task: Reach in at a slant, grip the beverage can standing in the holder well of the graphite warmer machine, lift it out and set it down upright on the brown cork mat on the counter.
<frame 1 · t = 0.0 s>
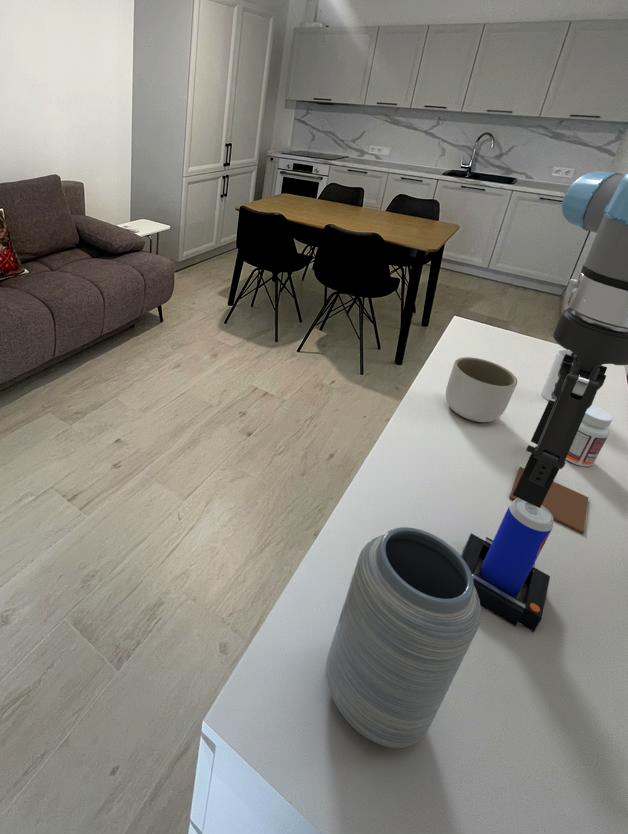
hand: (535, 470, 62), 24 cm above the counter, tool pointing down, fingers open, 13 cm apart
pill bottle: (574, 457, 103), on the counter
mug: (554, 396, 125), on the counter
cork mat: (548, 498, 91), on the counter
vase: (371, 699, 58), on the counter
planter: (469, 412, 115), on the counter
warmer machine: (496, 585, 73), on the counter
beverage can: (496, 586, 74), resting in warmer machine
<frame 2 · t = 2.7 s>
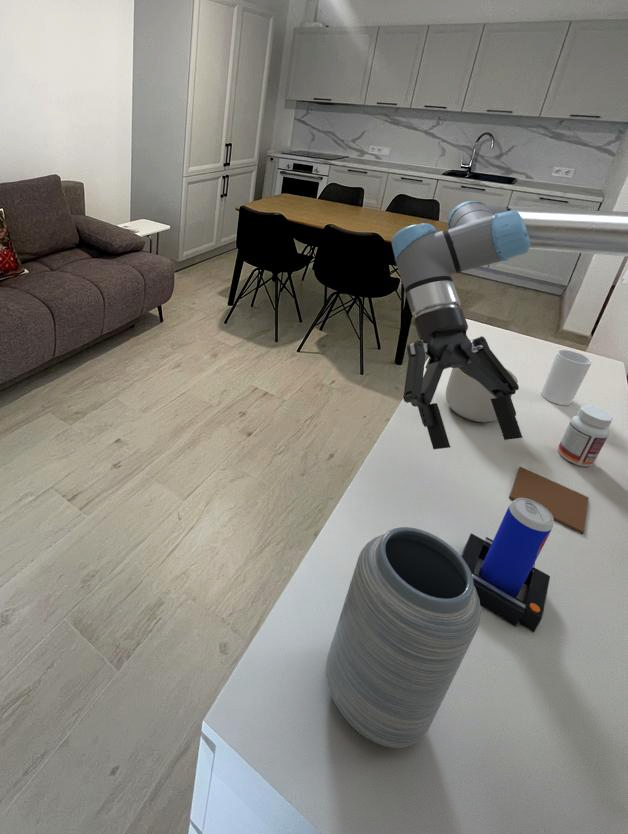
hand: (478, 443, 76), 18 cm above the counter, tool tilted 45°, fingers open, 13 cm apart
nothing on the counter moved.
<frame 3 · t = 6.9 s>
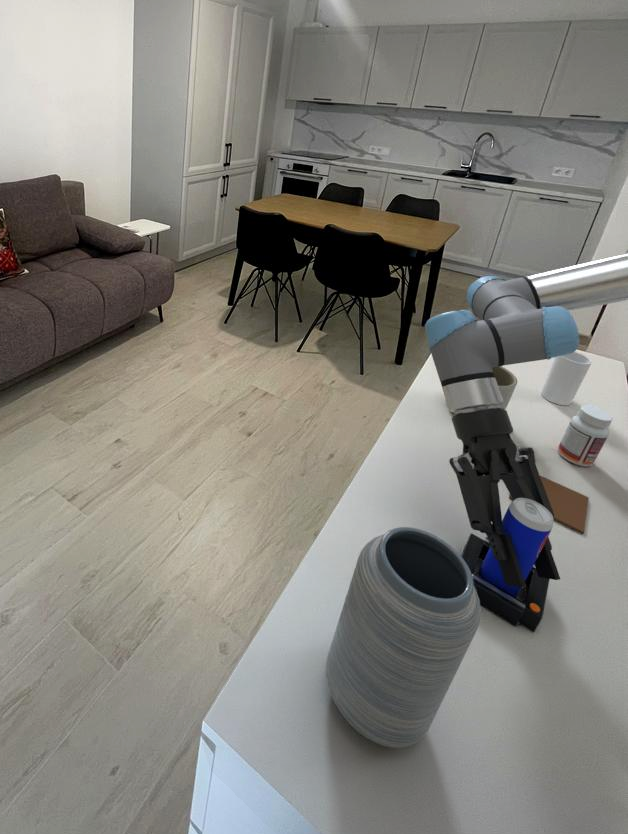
hand: (532, 581, 68), 6 cm above the counter, tool tilted 45°, fingers closed on beverage can, 5 cm apart
beverage can: (496, 586, 74), resting in warmer machine, touching gripper
everything else where it was.
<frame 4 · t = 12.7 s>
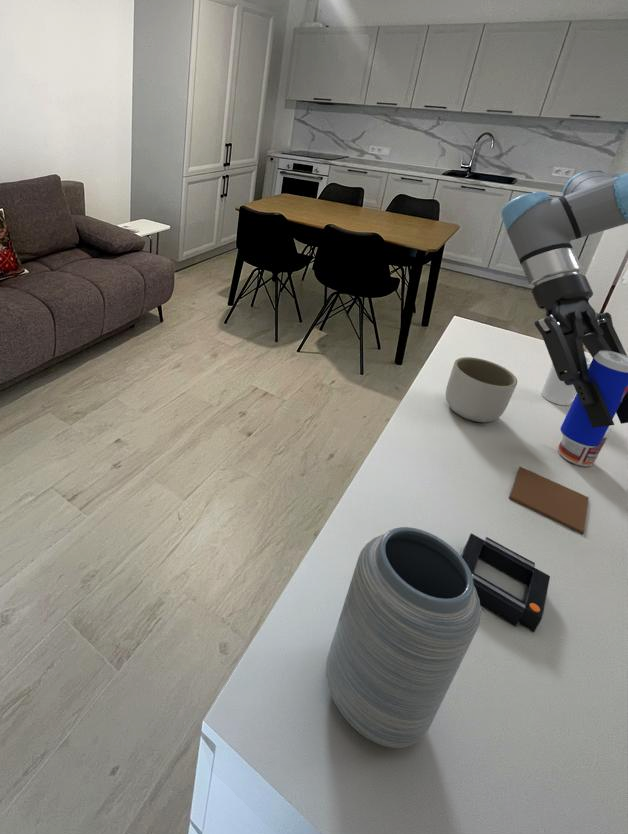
hand: (617, 423, 74), 23 cm above the counter, tool tilted 45°, fingers closed on beverage can, 5 cm apart
beverage can: (577, 439, 80), point 17 cm above the counter, touching gripper
everything else where it was.
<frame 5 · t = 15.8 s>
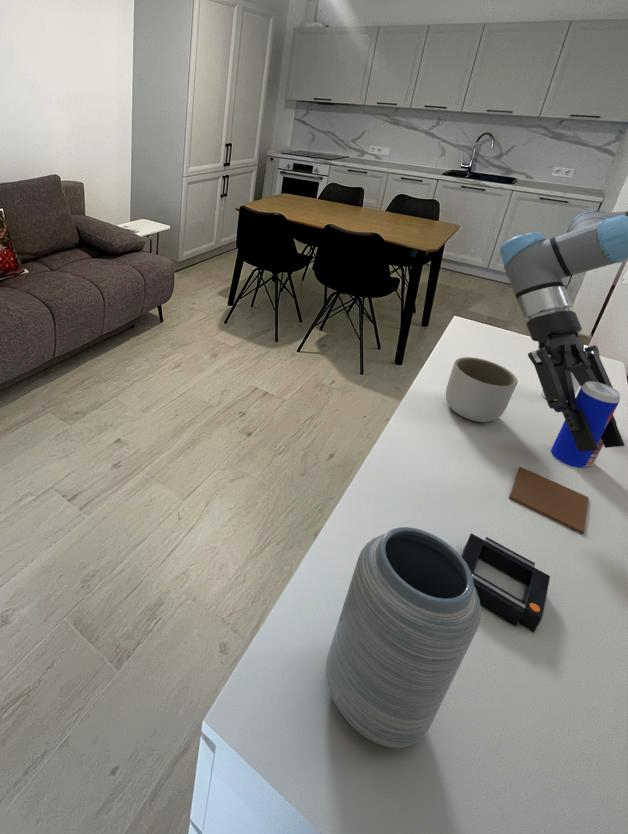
hand: (601, 448, 82), 15 cm above the counter, tool tilted 45°, fingers closed on beverage can, 5 cm apart
beverage can: (566, 461, 88), point 9 cm above the counter, touching gripper
everything else where it was.
when the fingers open (6 cm above the counter, at t = 18.4 s): beverage can stays where it is, resting on cork mat.
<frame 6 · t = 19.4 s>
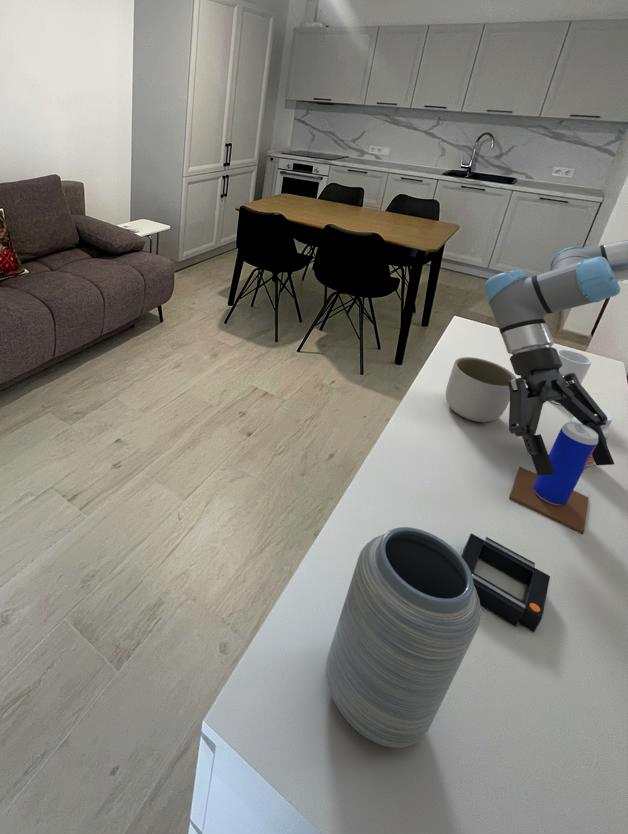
hand: (576, 469, 86), 8 cm above the counter, tool tilted 45°, fingers open, 13 cm apart
beverage can: (548, 497, 91), resting on cork mat
everything else where it was.
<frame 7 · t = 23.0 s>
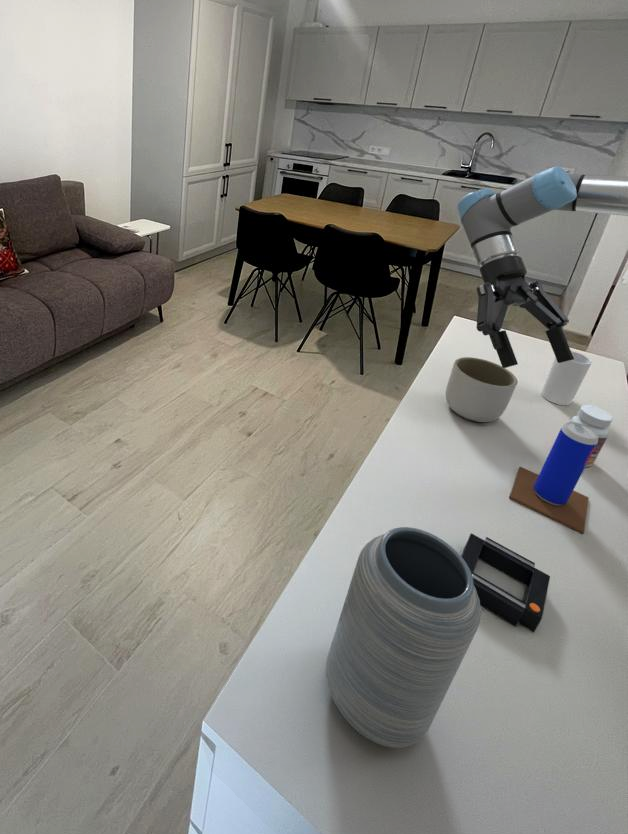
hand: (538, 363, 94), 21 cm above the counter, tool tilted 45°, fingers open, 13 cm apart
nothing on the counter moved.
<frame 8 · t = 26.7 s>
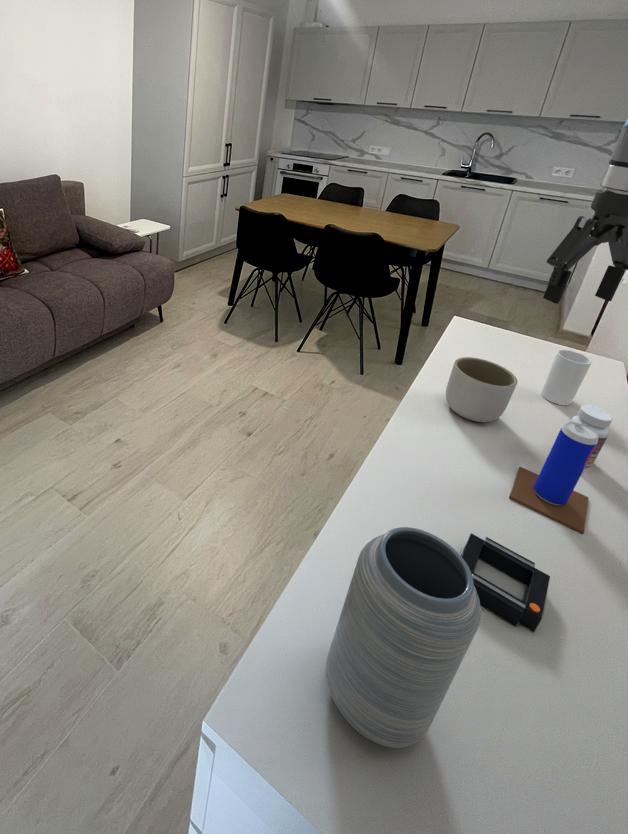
hand: (577, 299, 97), 32 cm above the counter, tool pointing down, fingers open, 13 cm apart
nothing on the counter moved.
at the end: beverage can inside the target area on the cork mat (0.1 cm from its centre), point 0.3 cm above the cork mat's base; beverage can tilted 0°; the gripper is holding nothing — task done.
